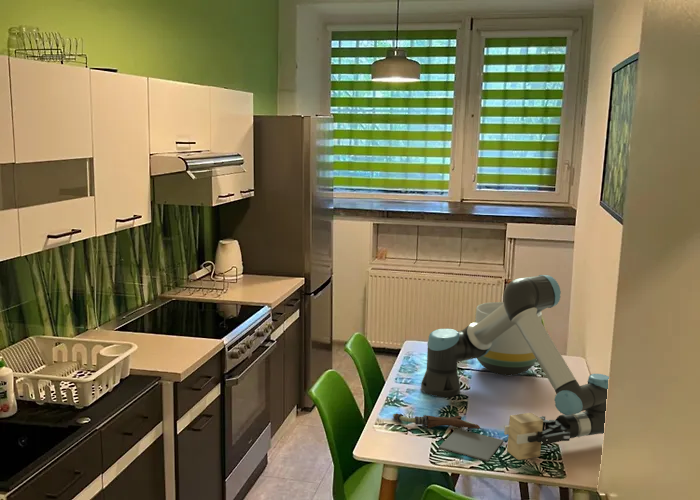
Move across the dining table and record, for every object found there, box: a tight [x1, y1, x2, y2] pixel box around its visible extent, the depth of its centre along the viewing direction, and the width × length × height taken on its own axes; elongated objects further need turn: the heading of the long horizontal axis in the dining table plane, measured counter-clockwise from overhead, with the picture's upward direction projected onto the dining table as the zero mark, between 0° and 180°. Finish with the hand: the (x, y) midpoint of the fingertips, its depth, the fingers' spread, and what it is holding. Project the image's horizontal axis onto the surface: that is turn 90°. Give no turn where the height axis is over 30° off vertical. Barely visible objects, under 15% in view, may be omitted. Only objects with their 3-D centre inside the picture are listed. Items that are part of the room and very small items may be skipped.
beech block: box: [506, 412, 543, 461], centre depth 210 cm, size 8×6×12 cm
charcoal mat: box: [438, 428, 504, 462], centre depth 216 cm, size 16×16×1 cm
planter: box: [474, 301, 543, 376], centre depth 283 cm, size 27×27×27 cm
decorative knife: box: [392, 413, 481, 429], centre depth 229 cm, size 4×9×30 cm
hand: (511, 434), depth 208 cm, fingers closed on beech block, 6 cm apart
